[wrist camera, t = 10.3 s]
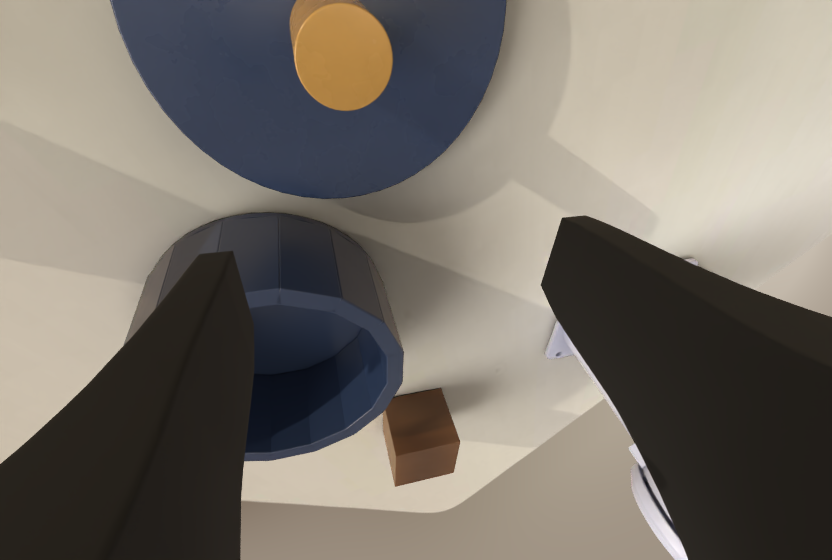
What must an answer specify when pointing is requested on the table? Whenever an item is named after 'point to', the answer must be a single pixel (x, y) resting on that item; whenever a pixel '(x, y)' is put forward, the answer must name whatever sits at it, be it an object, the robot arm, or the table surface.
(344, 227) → the table surface
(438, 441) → the block
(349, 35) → the lid
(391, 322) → the tin
